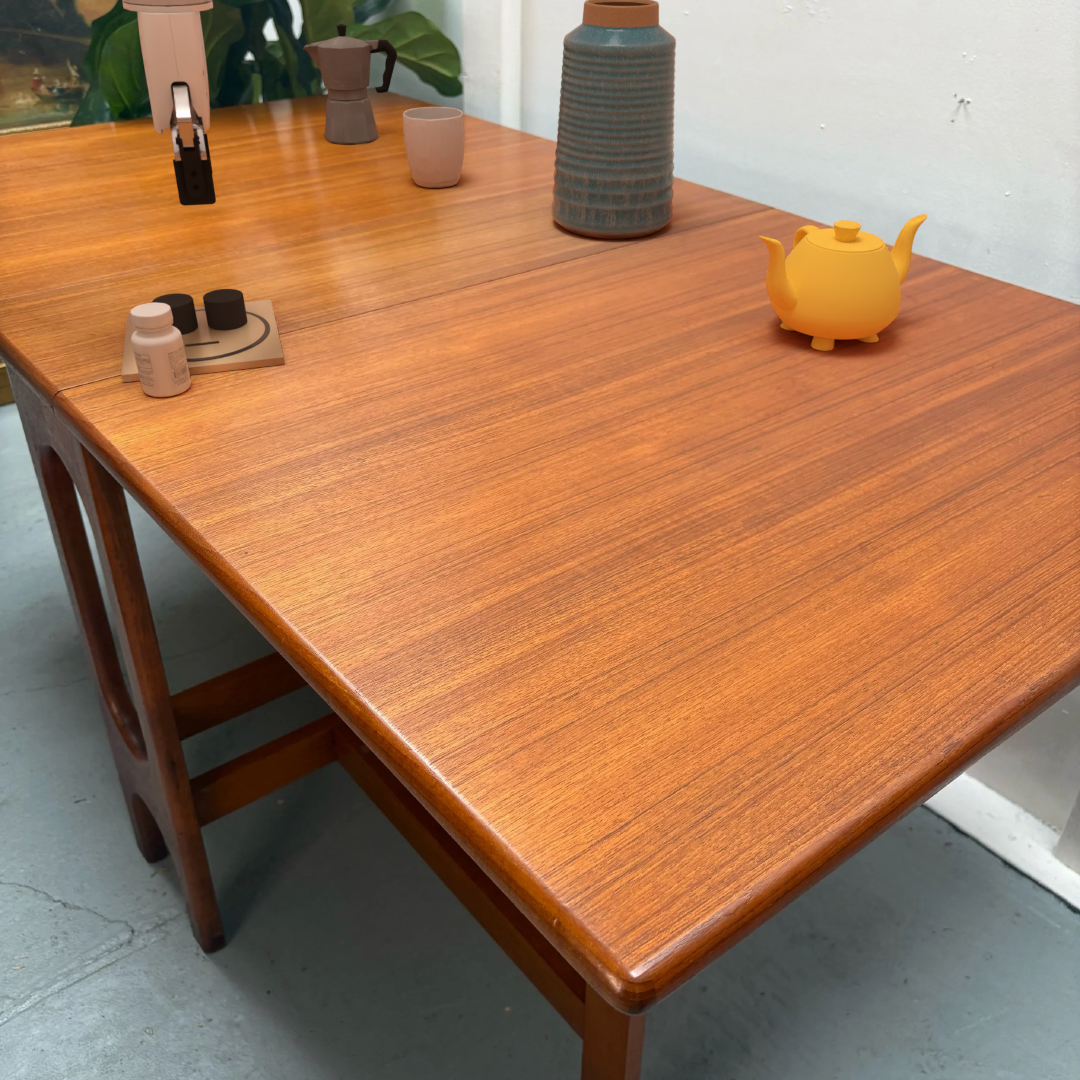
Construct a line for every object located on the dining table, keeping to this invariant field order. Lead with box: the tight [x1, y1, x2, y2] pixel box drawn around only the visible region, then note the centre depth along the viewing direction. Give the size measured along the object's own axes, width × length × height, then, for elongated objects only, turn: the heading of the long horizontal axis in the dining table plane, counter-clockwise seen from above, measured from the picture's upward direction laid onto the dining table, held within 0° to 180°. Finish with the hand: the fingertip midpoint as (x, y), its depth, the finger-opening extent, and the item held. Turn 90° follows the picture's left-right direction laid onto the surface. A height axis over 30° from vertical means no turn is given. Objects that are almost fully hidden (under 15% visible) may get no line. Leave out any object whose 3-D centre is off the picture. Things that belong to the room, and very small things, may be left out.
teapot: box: [758, 213, 929, 352], centre depth 105 cm, size 20×15×12 cm
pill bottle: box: [130, 302, 192, 398], centre depth 93 cm, size 4×4×8 cm
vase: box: [550, 0, 677, 240], centre depth 131 cm, size 16×16×27 cm
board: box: [120, 299, 286, 383], centre depth 104 cm, size 15×16×1 cm
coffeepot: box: [303, 23, 398, 145], centre depth 173 cm, size 15×9×18 cm, turn 95°
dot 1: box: [151, 292, 198, 335], centre depth 104 cm, size 4×4×3 cm
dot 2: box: [202, 288, 247, 330], centre depth 105 cm, size 4×4×3 cm
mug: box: [402, 106, 466, 189], centre depth 153 cm, size 13×9×10 cm
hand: (197, 189), depth 98 cm, fingers open, 9 cm apart
